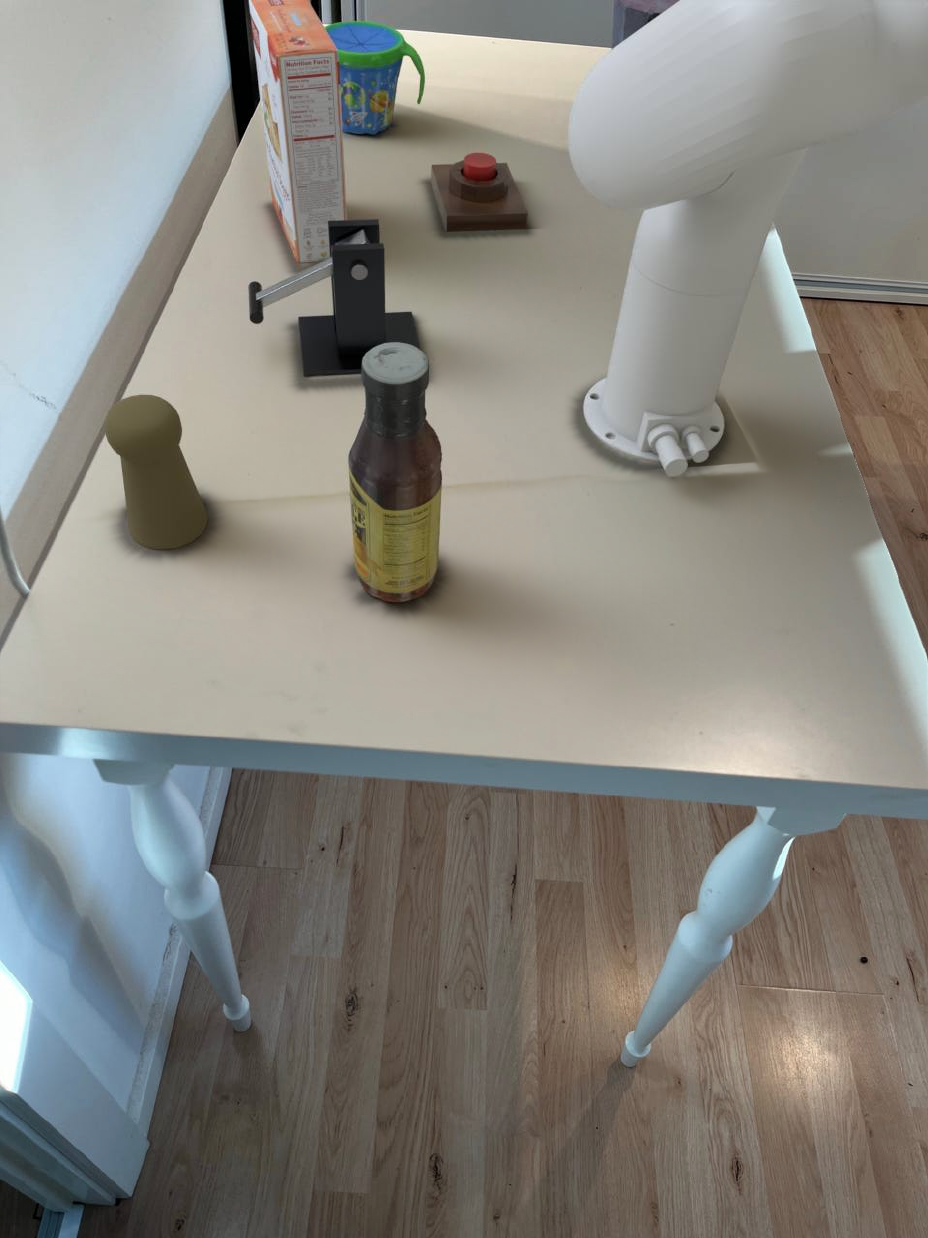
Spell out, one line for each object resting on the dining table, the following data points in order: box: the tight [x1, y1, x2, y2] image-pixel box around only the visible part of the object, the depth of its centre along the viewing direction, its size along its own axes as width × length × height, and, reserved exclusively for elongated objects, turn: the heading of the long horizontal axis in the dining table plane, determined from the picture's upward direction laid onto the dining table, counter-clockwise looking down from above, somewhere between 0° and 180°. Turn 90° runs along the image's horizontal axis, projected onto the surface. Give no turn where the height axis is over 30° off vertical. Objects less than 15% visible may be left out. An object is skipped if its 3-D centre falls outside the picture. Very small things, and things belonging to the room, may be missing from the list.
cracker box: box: [248, 0, 348, 264], centre depth 94 cm, size 14×6×21 cm, turn 18°
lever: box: [248, 230, 371, 325], centre depth 83 cm, size 12×5×2 cm, turn 99°
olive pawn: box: [104, 394, 209, 550], centre depth 70 cm, size 6×6×11 cm
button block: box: [430, 159, 529, 233], centre depth 107 cm, size 12×9×4 cm
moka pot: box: [611, 0, 680, 50], centre depth 110 cm, size 10×15×20 cm, turn 174°
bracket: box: [297, 218, 422, 378], centre depth 85 cm, size 11×9×12 cm
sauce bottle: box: [347, 342, 443, 603], centre depth 64 cm, size 6×6×20 cm
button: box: [463, 152, 497, 181], centre depth 105 cm, size 4×4×2 cm
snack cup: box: [324, 20, 426, 136], centre depth 117 cm, size 16×10×10 cm
